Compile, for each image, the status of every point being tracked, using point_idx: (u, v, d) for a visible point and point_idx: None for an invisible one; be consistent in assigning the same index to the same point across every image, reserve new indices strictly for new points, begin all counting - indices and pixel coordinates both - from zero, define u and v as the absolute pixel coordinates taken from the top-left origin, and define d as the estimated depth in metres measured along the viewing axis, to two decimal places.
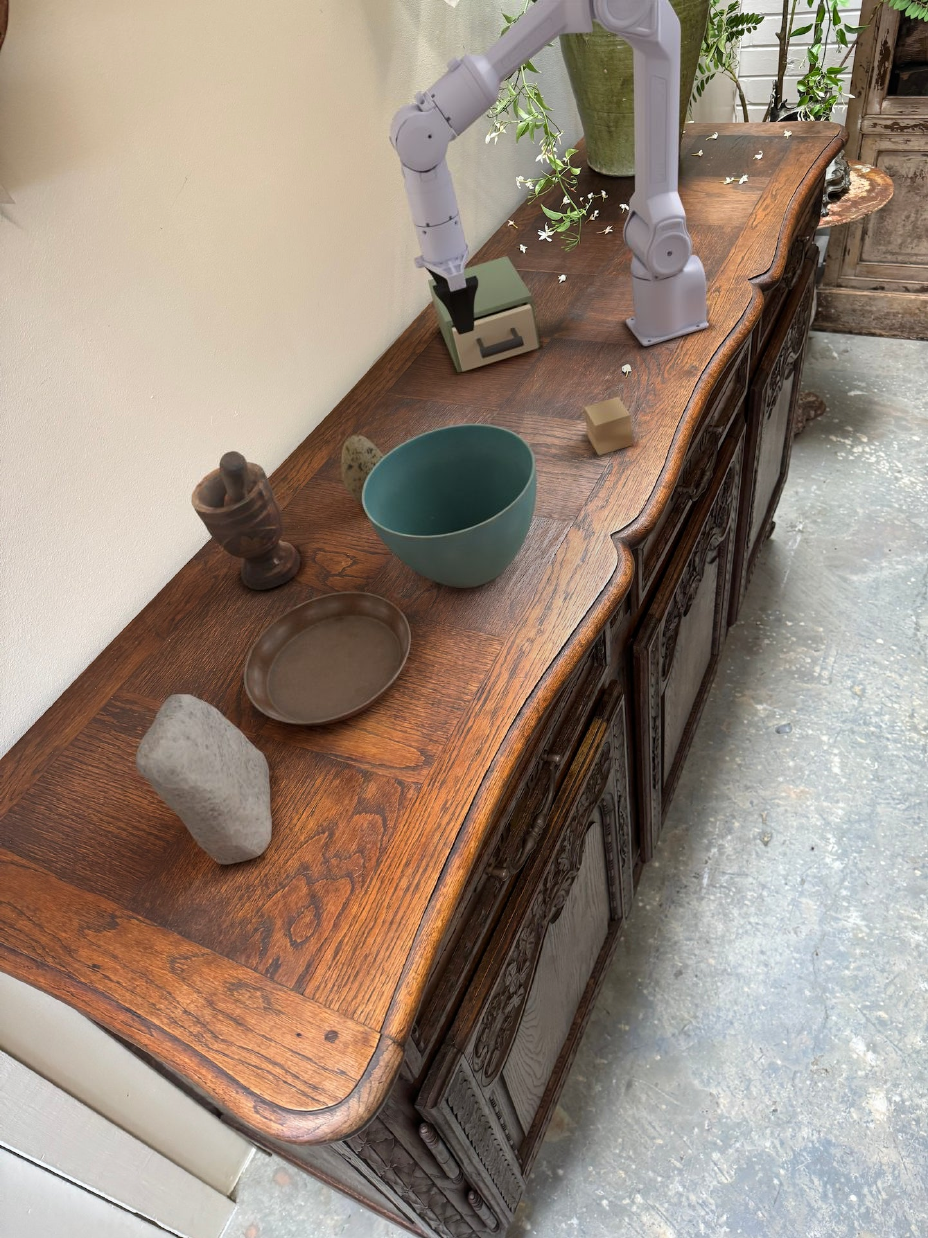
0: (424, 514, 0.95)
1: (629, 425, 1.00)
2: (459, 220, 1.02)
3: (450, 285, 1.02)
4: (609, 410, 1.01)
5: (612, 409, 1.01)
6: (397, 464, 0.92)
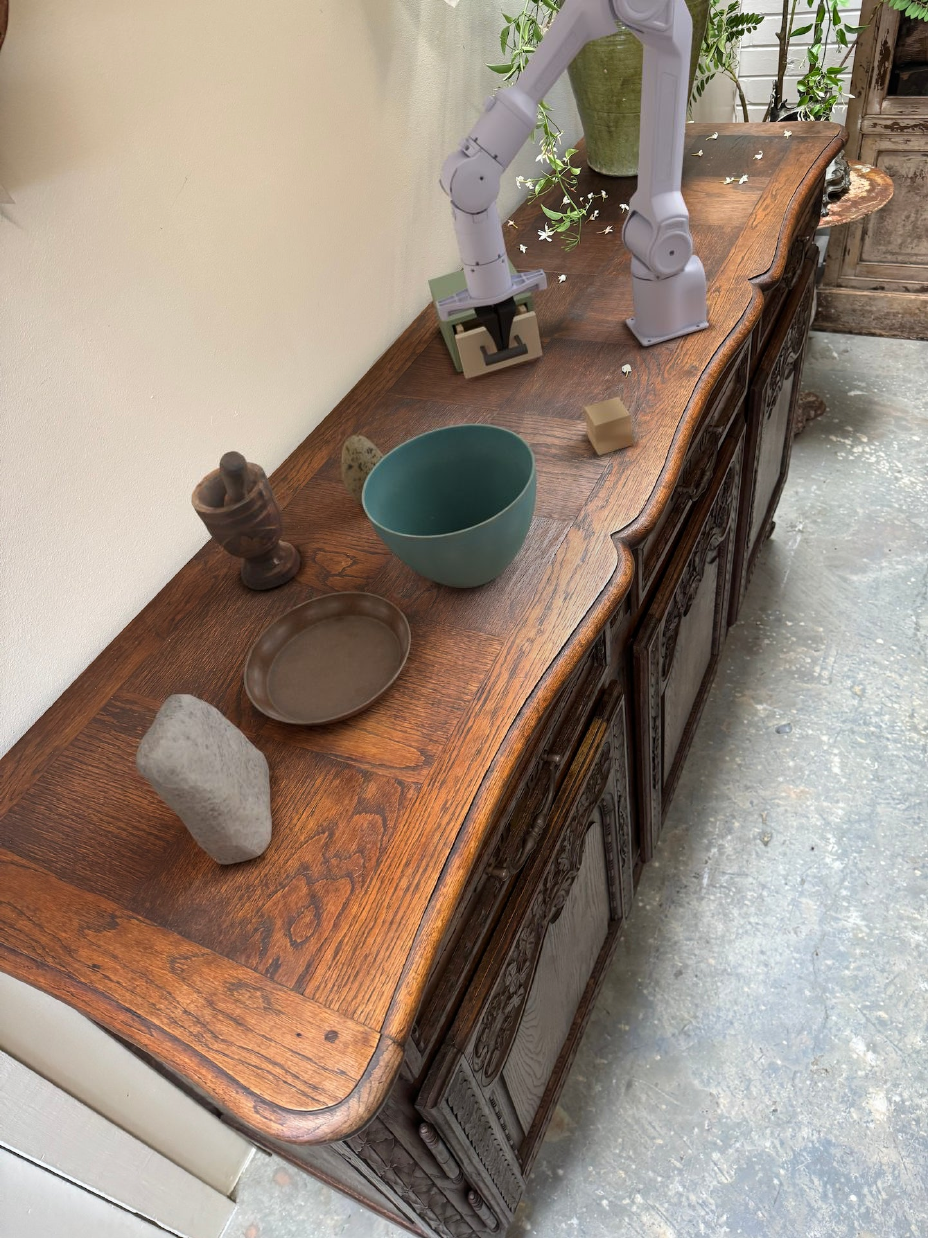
0: (424, 514, 0.95)
1: (629, 425, 1.00)
2: (480, 271, 1.04)
3: None
4: (609, 410, 1.01)
5: (612, 409, 1.01)
6: (397, 464, 0.92)
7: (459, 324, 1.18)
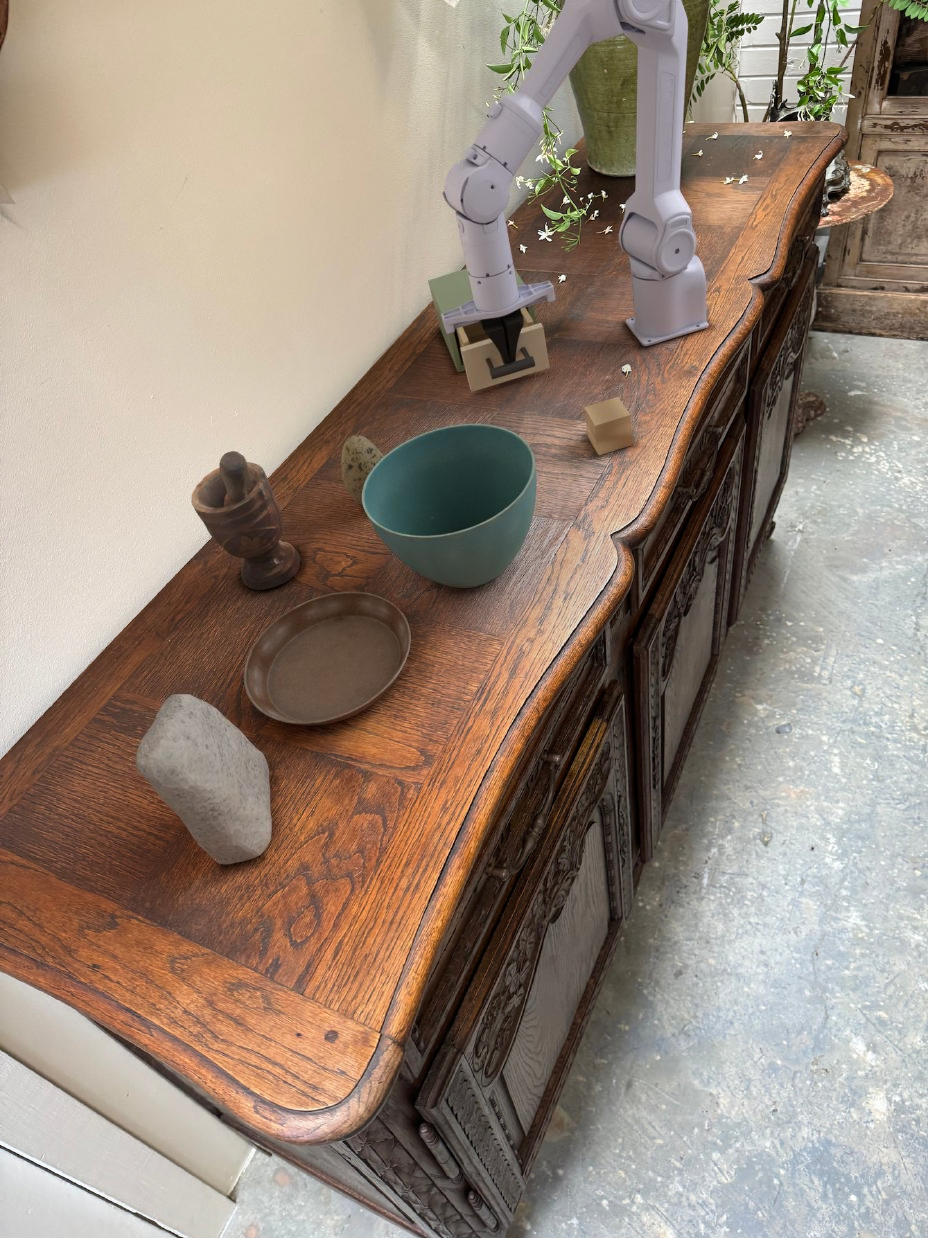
0: (424, 514, 0.95)
1: (629, 425, 1.00)
2: (486, 283, 1.02)
3: (443, 322, 1.08)
4: (609, 410, 1.01)
5: (612, 409, 1.01)
6: (397, 464, 0.92)
7: (464, 336, 1.15)
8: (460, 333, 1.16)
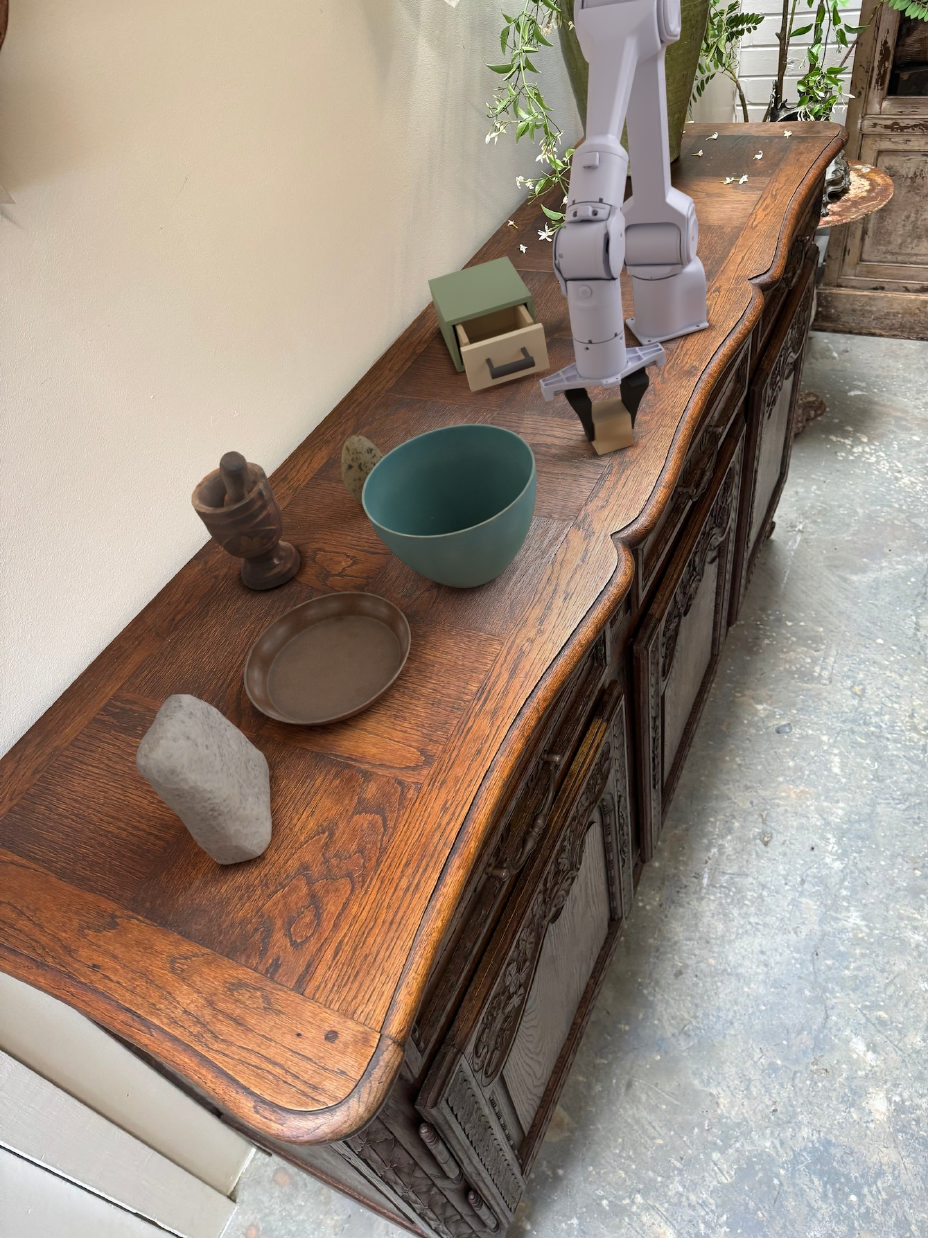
0: (424, 514, 0.95)
1: (629, 425, 1.00)
2: None
3: None
4: (609, 410, 1.01)
5: (612, 409, 1.01)
6: (397, 464, 0.92)
7: (464, 336, 1.15)
8: (460, 333, 1.16)
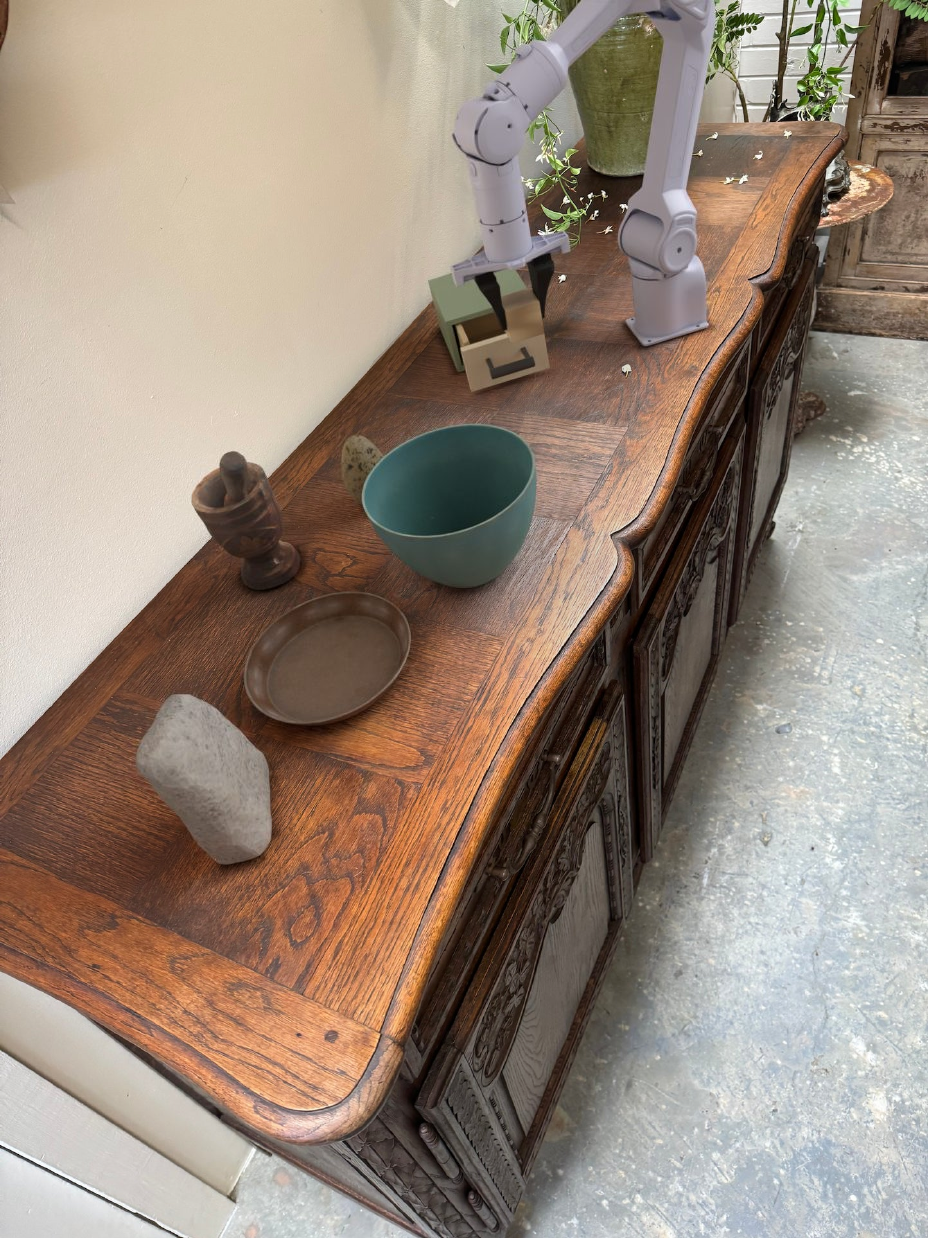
0: (424, 514, 0.95)
1: (539, 312, 1.05)
2: None
3: (569, 244, 1.01)
4: (520, 298, 1.05)
5: (523, 298, 1.05)
6: (397, 464, 0.92)
7: (464, 336, 1.15)
8: (460, 333, 1.16)
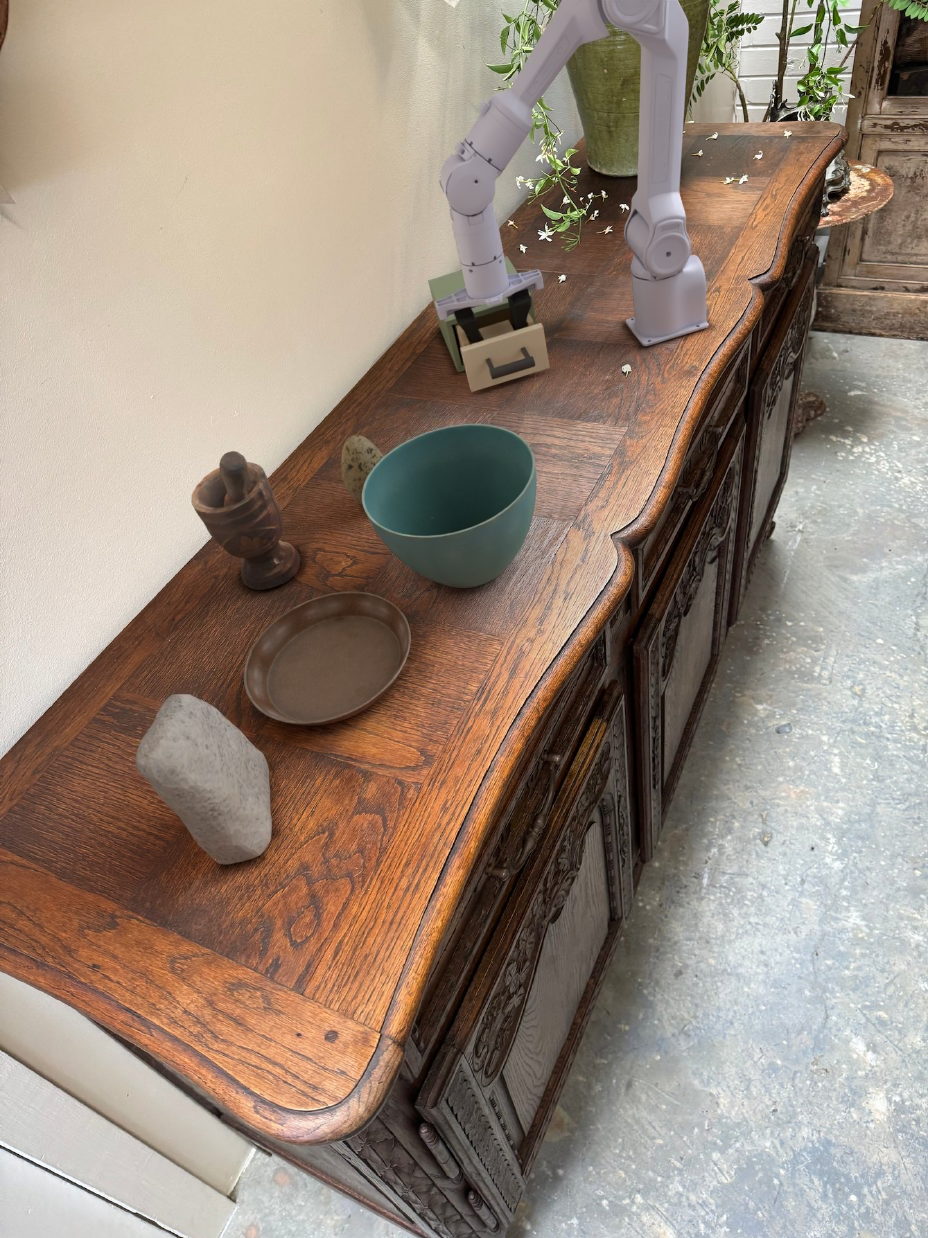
0: (424, 514, 0.95)
1: None
2: None
3: None
4: (498, 330, 1.15)
5: (501, 330, 1.15)
6: (397, 464, 0.92)
7: (464, 336, 1.15)
8: (460, 333, 1.16)
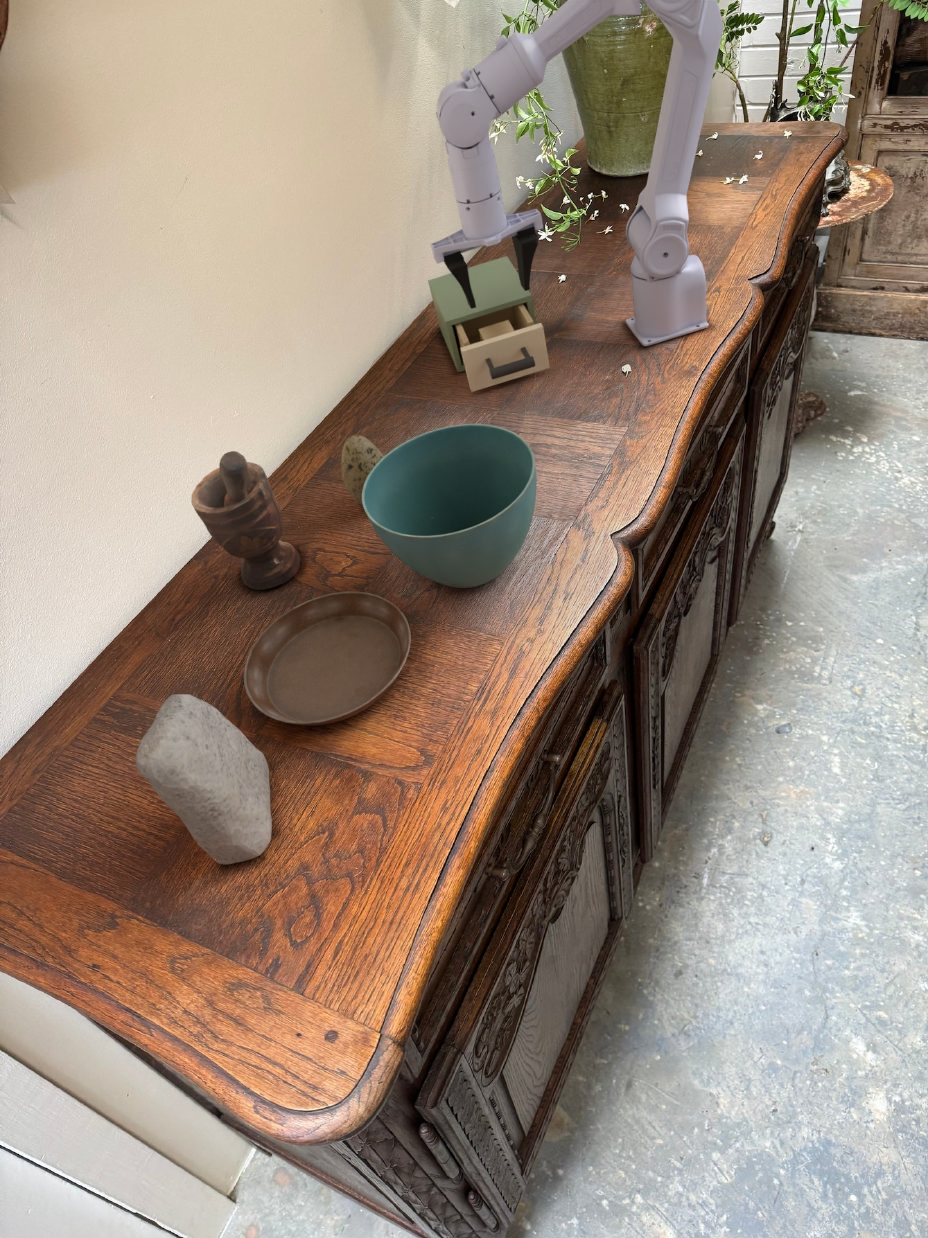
0: (424, 514, 0.95)
1: None
2: None
3: None
4: (498, 330, 1.15)
5: (501, 330, 1.15)
6: (397, 464, 0.92)
7: (464, 336, 1.15)
8: (460, 333, 1.16)
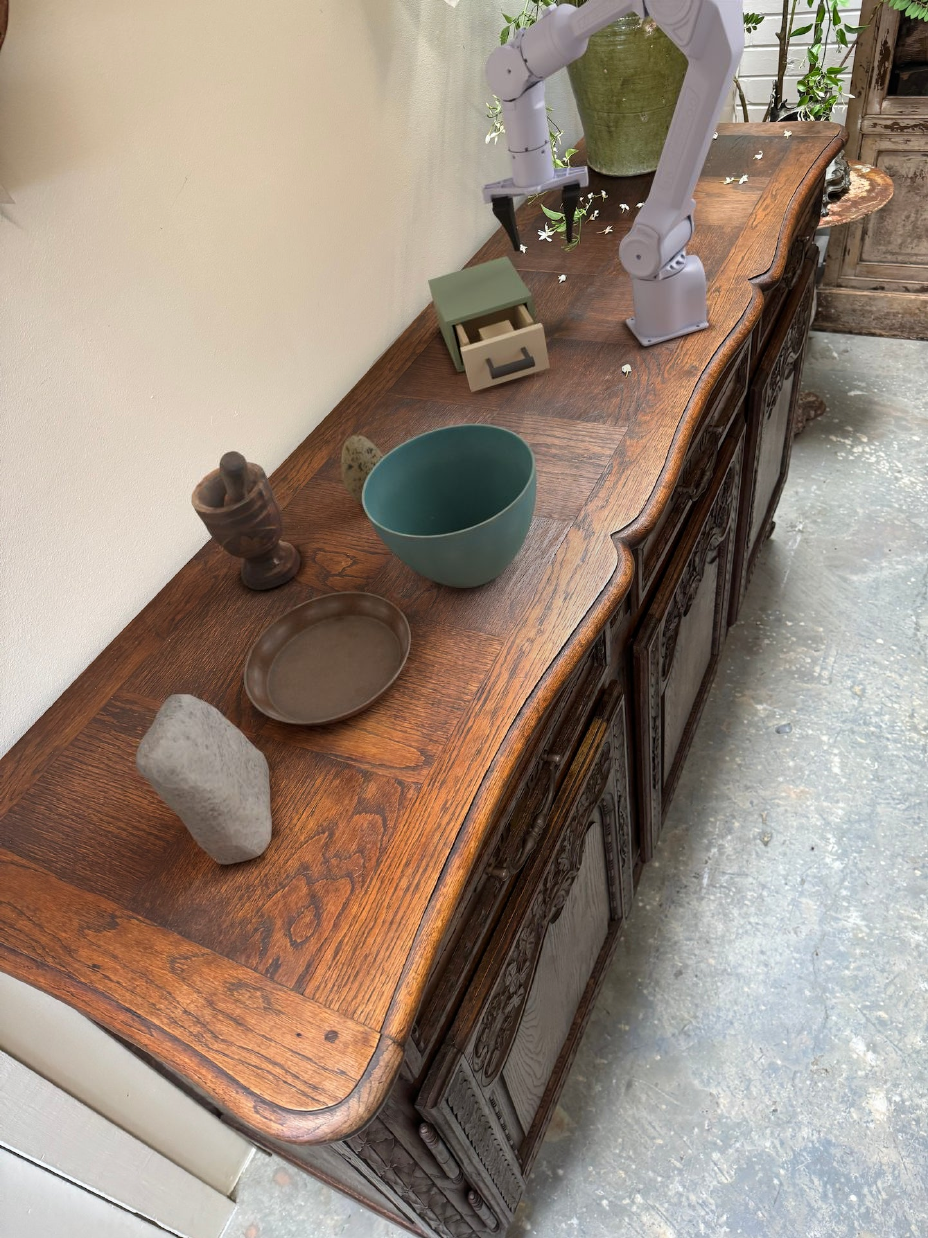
0: (424, 514, 0.95)
1: None
2: None
3: (587, 179, 1.14)
4: (498, 330, 1.15)
5: (501, 330, 1.15)
6: (397, 464, 0.92)
7: (464, 336, 1.15)
8: (460, 333, 1.16)
